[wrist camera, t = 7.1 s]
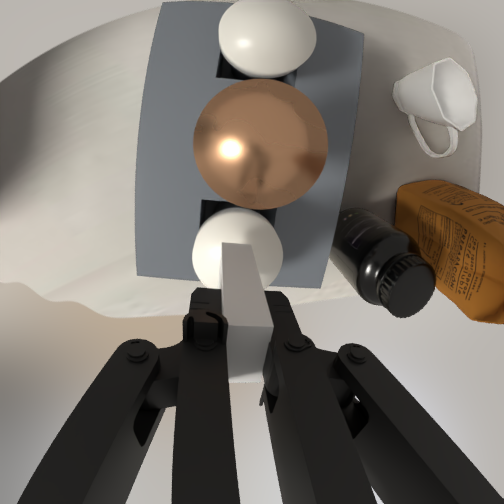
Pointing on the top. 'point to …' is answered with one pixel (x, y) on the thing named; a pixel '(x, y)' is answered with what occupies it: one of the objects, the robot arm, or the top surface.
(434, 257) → the coffee package
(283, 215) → the grey pod holder
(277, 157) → the brown lidded jar
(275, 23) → the knob
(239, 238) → the knob
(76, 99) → the top surface
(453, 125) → the cup
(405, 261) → the supplement bottle
